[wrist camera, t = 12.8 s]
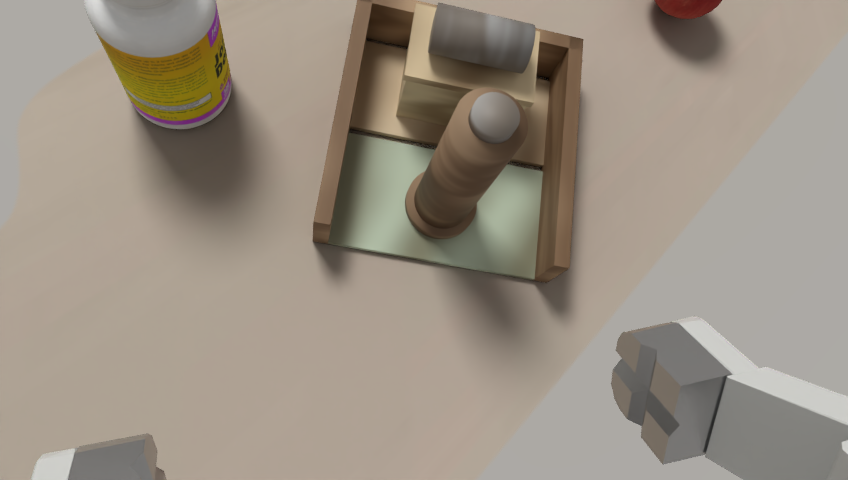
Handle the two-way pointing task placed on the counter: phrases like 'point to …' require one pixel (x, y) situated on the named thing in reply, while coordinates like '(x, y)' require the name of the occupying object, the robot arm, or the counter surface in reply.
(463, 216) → the brown wooden pepper mill
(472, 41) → the block with grey roller
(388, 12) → the bay
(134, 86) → the supplement bottle
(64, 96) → the counter surface
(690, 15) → the onion
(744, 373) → the robot arm
